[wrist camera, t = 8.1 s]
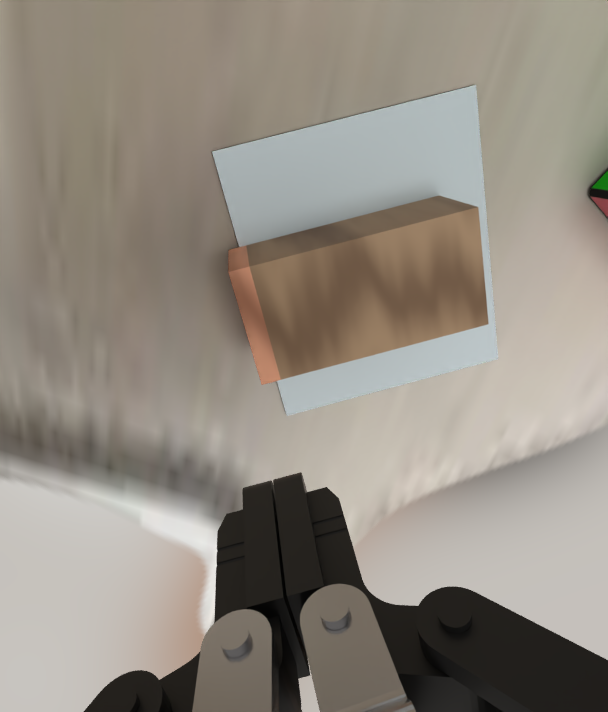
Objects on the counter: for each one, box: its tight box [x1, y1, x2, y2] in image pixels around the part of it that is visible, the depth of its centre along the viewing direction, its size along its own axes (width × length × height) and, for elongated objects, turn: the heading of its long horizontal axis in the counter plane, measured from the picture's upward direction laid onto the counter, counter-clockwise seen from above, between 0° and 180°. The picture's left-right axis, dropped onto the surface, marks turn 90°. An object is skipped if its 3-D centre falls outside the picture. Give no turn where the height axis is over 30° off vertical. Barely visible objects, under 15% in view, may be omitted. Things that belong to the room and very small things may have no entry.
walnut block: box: [228, 196, 489, 385], centre depth 28 cm, size 6×5×12 cm
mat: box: [212, 85, 498, 416], centre depth 30 cm, size 16×14×1 cm
